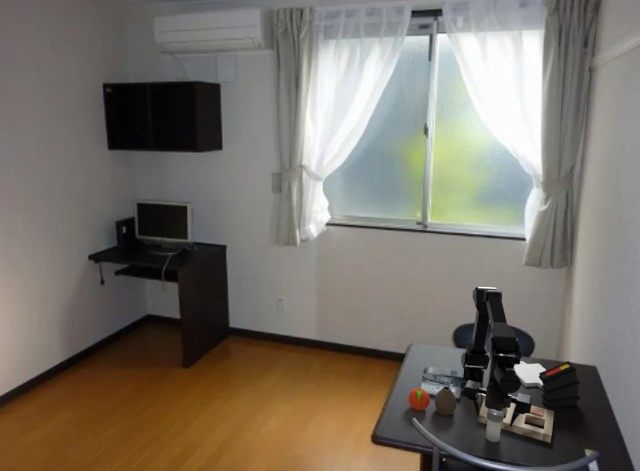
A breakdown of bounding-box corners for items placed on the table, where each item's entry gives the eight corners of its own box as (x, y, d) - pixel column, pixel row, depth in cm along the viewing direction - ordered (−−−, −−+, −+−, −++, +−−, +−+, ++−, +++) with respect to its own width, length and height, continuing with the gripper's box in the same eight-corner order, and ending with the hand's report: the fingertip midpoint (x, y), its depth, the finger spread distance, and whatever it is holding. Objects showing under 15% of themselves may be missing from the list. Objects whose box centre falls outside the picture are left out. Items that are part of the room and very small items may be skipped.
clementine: (428, 418, 153) (430, 398, 152) (406, 414, 155) (408, 395, 153) (429, 404, 161) (430, 385, 159) (408, 401, 162) (409, 382, 161)
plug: (482, 439, 143) (485, 415, 141) (485, 430, 147) (488, 407, 145) (499, 444, 141) (502, 420, 139) (502, 435, 145) (505, 412, 143)
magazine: (588, 401, 161) (575, 365, 157) (551, 417, 162) (537, 381, 158) (582, 395, 164) (569, 360, 161) (546, 410, 165) (532, 375, 162)
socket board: (477, 421, 152) (478, 413, 151) (485, 399, 164) (486, 392, 163) (550, 443, 142) (551, 434, 141) (553, 418, 154) (554, 410, 153)
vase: (456, 408, 159) (458, 384, 157) (454, 420, 152) (457, 395, 150) (435, 404, 161) (437, 380, 159) (432, 415, 155) (434, 391, 153)
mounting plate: (503, 366, 187) (504, 362, 187) (534, 364, 189) (534, 360, 189) (529, 391, 170) (529, 386, 170) (562, 389, 172) (563, 384, 171)
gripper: (461, 378, 137) (456, 426, 140) (531, 396, 128) (524, 447, 132) (469, 361, 146) (464, 407, 150) (535, 377, 138) (529, 425, 141)
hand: (494, 421), depth 143 cm, fingers open, 9 cm apart
